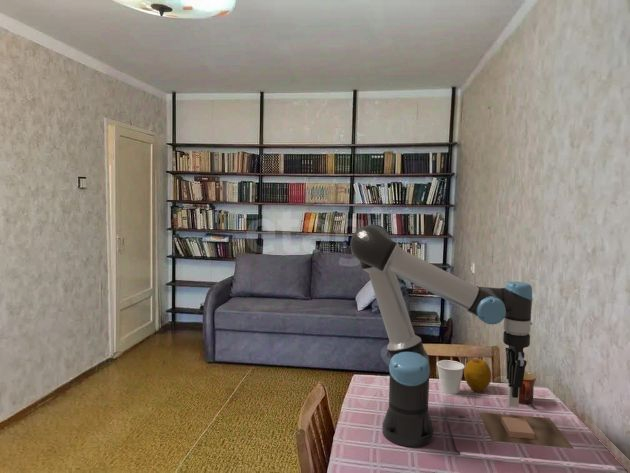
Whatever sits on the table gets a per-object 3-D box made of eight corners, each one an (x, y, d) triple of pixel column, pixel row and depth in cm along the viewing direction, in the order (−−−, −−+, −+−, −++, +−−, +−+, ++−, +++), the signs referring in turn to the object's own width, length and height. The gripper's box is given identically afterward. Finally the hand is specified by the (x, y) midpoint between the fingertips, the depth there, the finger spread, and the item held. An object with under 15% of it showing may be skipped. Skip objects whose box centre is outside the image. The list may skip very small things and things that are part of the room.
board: (492, 444, 127) (492, 440, 127) (478, 415, 145) (478, 412, 145) (573, 452, 124) (573, 448, 124) (549, 421, 142) (549, 418, 142)
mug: (505, 396, 160) (506, 369, 159) (531, 399, 158) (532, 371, 158) (513, 411, 148) (514, 382, 148) (541, 414, 147) (542, 384, 146)
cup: (431, 388, 166) (432, 360, 165) (456, 387, 167) (457, 359, 166) (441, 400, 156) (442, 370, 156) (468, 399, 157) (469, 369, 157)
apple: (471, 382, 173) (472, 353, 172) (495, 390, 166) (496, 359, 165) (458, 388, 166) (459, 358, 166) (483, 397, 159) (484, 365, 158)
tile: (501, 422, 138) (509, 437, 129) (501, 416, 138) (509, 431, 129) (524, 424, 137) (534, 439, 128) (524, 418, 137) (534, 433, 128)
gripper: (537, 339, 129) (533, 416, 131) (522, 327, 142) (519, 397, 143) (510, 337, 130) (506, 414, 132) (498, 325, 143) (495, 396, 144)
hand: (513, 405), depth 137 cm, fingers closed
